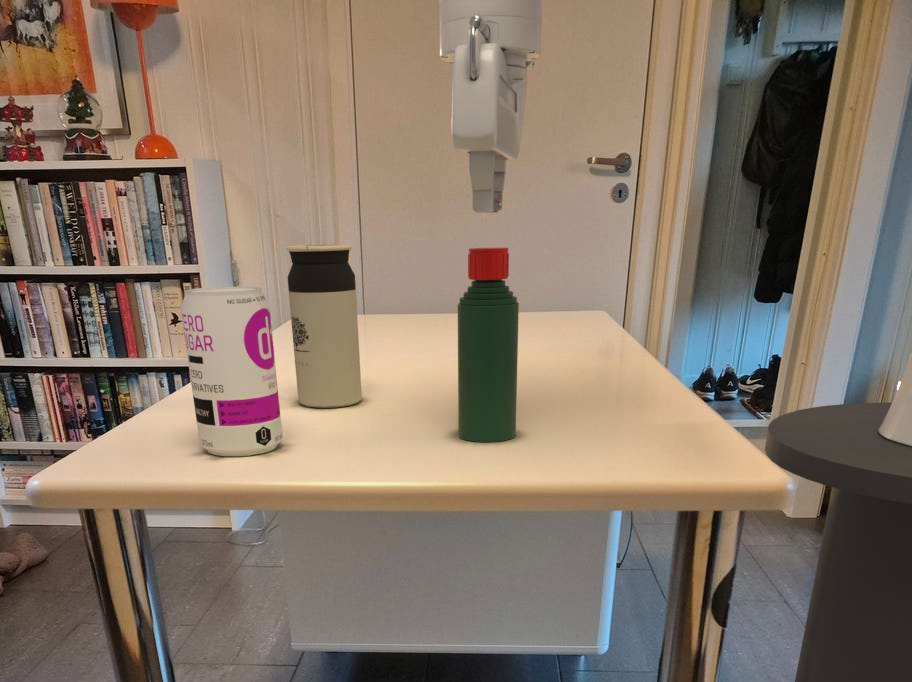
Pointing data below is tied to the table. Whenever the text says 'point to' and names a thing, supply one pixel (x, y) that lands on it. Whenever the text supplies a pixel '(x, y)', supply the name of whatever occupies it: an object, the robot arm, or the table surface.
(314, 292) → the travel mug
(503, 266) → the cap
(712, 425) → the table surface
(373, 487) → the table surface
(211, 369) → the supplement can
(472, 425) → the bottle
